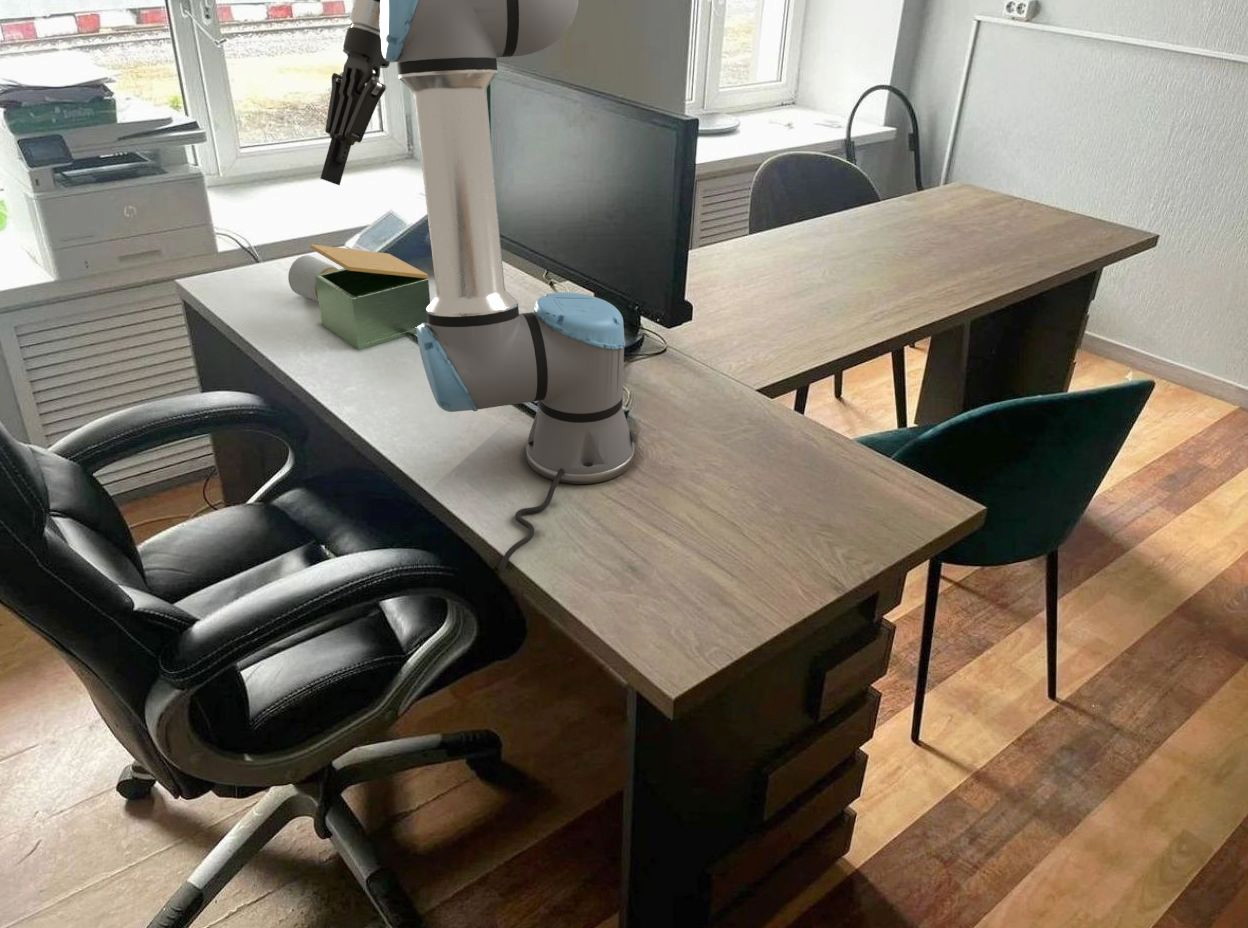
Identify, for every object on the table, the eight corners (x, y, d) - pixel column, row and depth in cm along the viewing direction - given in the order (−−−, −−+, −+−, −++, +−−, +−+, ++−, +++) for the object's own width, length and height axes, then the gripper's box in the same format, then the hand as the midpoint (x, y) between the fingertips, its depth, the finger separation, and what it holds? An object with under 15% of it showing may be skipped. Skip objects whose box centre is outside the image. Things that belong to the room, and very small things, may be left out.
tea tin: (358, 349, 171) (352, 298, 166) (321, 324, 179) (314, 275, 174) (432, 328, 179) (428, 279, 174) (394, 305, 188) (388, 257, 183)
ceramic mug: (319, 310, 185) (314, 270, 181) (290, 299, 189) (284, 260, 185) (363, 294, 192) (359, 255, 188) (334, 284, 196) (329, 246, 192)
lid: (347, 270, 163) (348, 266, 163) (309, 248, 172) (310, 244, 172) (427, 278, 174) (428, 274, 174) (388, 257, 183) (389, 253, 182)
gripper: (413, 47, 156) (370, 195, 159) (370, 42, 164) (330, 183, 168) (372, 26, 150) (329, 180, 153) (330, 22, 159) (289, 168, 162)
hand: (330, 181), depth 160 cm, fingers closed
